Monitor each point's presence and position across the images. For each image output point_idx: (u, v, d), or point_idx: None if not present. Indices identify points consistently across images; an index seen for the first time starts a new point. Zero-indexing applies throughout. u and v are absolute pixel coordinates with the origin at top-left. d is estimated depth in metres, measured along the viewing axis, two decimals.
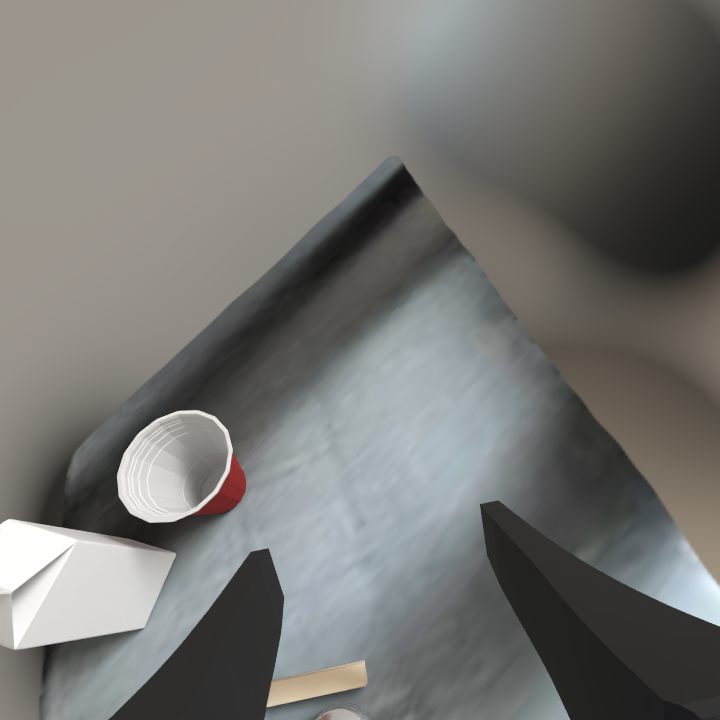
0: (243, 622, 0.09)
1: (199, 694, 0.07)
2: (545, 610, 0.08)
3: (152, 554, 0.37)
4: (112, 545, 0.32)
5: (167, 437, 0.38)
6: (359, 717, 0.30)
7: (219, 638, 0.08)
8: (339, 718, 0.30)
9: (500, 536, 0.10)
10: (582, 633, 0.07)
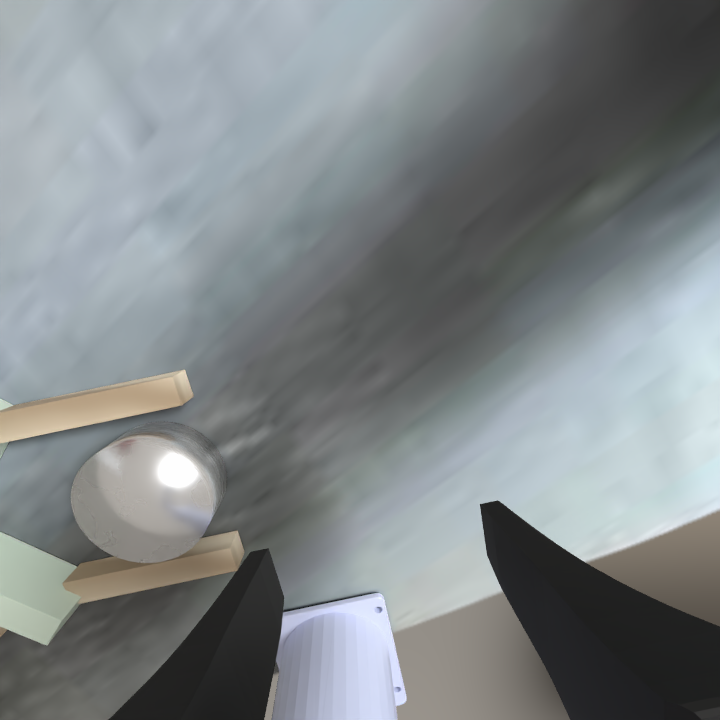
0: (243, 622, 0.09)
1: (199, 694, 0.07)
2: (545, 610, 0.08)
3: None
4: None
5: None
6: (169, 445, 0.18)
7: (219, 638, 0.08)
8: (131, 451, 0.18)
9: (500, 536, 0.10)
10: (582, 632, 0.07)
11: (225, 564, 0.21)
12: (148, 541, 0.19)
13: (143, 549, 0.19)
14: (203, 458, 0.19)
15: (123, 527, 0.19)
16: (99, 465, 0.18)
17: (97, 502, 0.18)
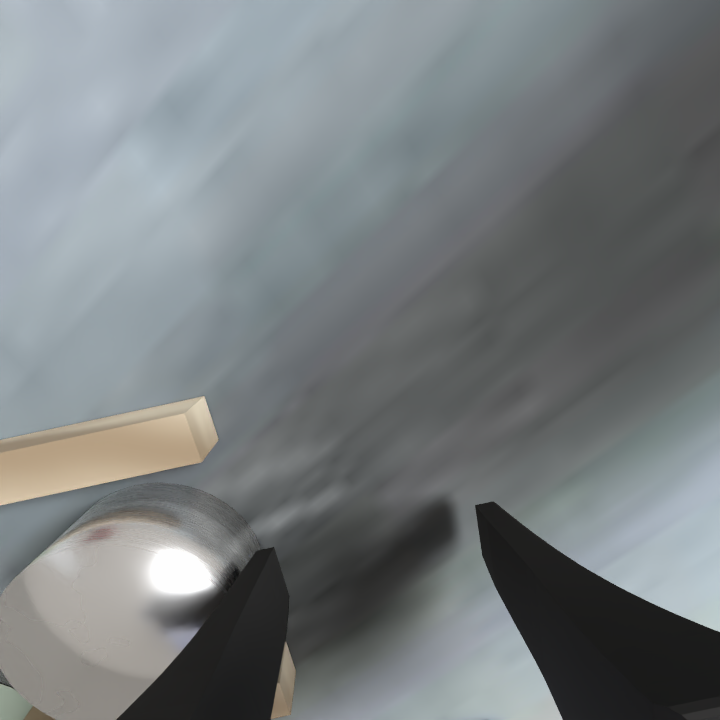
0: (250, 620, 0.09)
1: (208, 692, 0.07)
2: (538, 611, 0.08)
3: None
4: None
5: None
6: (167, 542, 0.10)
7: (227, 636, 0.08)
8: (97, 559, 0.10)
9: (495, 537, 0.10)
10: (574, 634, 0.07)
11: None
12: None
13: None
14: (226, 555, 0.11)
15: (89, 683, 0.11)
16: (40, 585, 0.10)
17: (40, 645, 0.10)
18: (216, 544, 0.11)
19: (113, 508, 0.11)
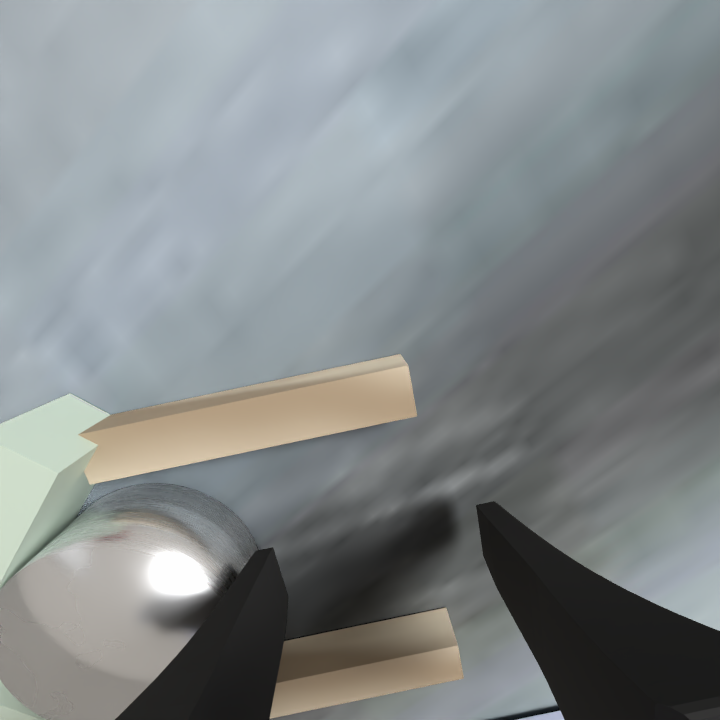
0: (249, 621, 0.09)
1: (207, 692, 0.07)
2: (540, 611, 0.08)
3: None
4: None
5: None
6: (163, 544, 0.10)
7: (226, 637, 0.08)
8: (92, 561, 0.10)
9: (496, 537, 0.10)
10: (575, 633, 0.07)
11: (446, 669, 0.13)
12: (129, 704, 0.11)
13: None
14: (223, 557, 0.11)
15: (83, 685, 0.11)
16: (34, 587, 0.10)
17: (34, 647, 0.10)
18: (213, 546, 0.11)
19: (109, 509, 0.11)
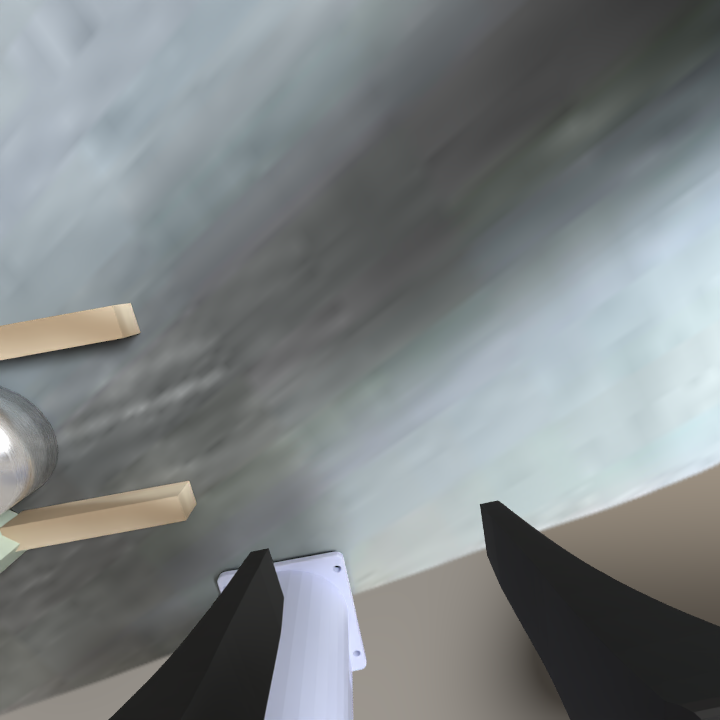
0: (243, 622, 0.09)
1: (199, 694, 0.07)
2: (545, 610, 0.08)
3: None
4: None
5: None
6: None
7: (219, 638, 0.08)
8: None
9: (500, 536, 0.10)
10: (582, 632, 0.07)
11: (172, 513, 0.20)
12: None
13: None
14: (12, 421, 0.18)
15: None
16: None
17: None
18: (6, 415, 0.18)
19: None
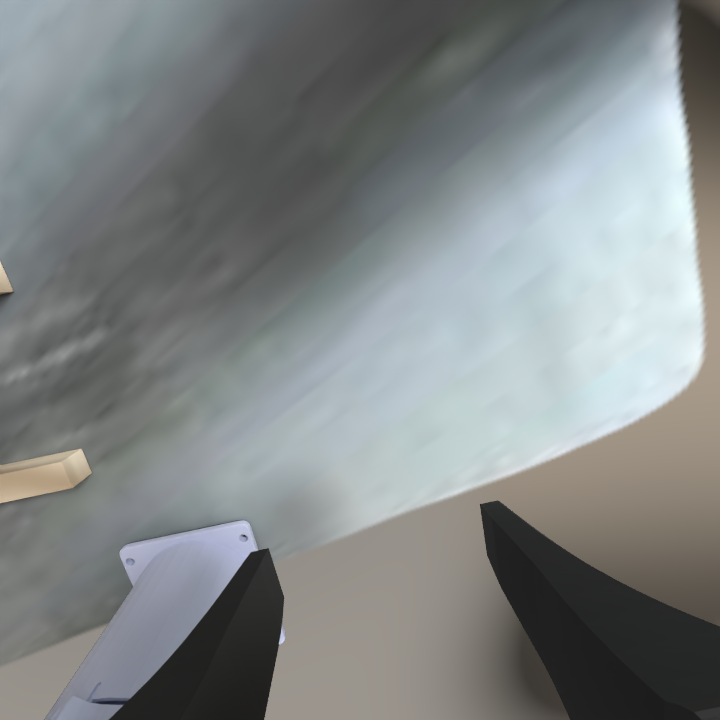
0: (243, 622, 0.09)
1: (199, 694, 0.07)
2: (545, 610, 0.08)
3: None
4: None
5: None
6: None
7: (219, 638, 0.08)
8: None
9: (500, 536, 0.10)
10: (582, 632, 0.07)
11: (58, 480, 0.19)
12: None
13: None
14: None
15: None
16: None
17: None
18: None
19: None
